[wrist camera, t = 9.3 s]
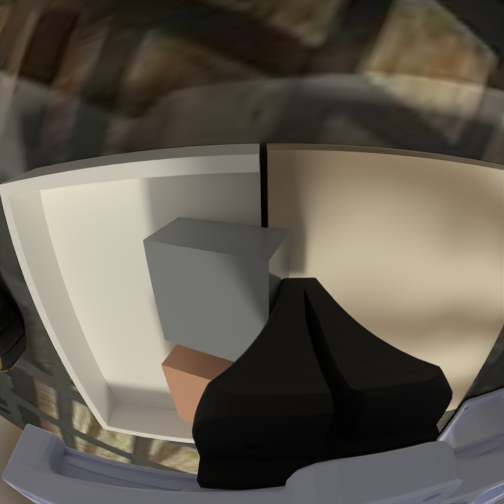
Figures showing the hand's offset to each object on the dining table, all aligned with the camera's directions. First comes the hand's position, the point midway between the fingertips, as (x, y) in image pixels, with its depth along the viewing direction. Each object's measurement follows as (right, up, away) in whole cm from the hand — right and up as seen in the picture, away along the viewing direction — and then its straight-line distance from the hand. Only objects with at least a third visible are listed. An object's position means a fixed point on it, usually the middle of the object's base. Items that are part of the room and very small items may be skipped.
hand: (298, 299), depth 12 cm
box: (-7, -2, +5) cm, 9 cm away
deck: (+7, -2, +4) cm, 8 cm away
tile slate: (-3, +1, +2) cm, 3 cm away
